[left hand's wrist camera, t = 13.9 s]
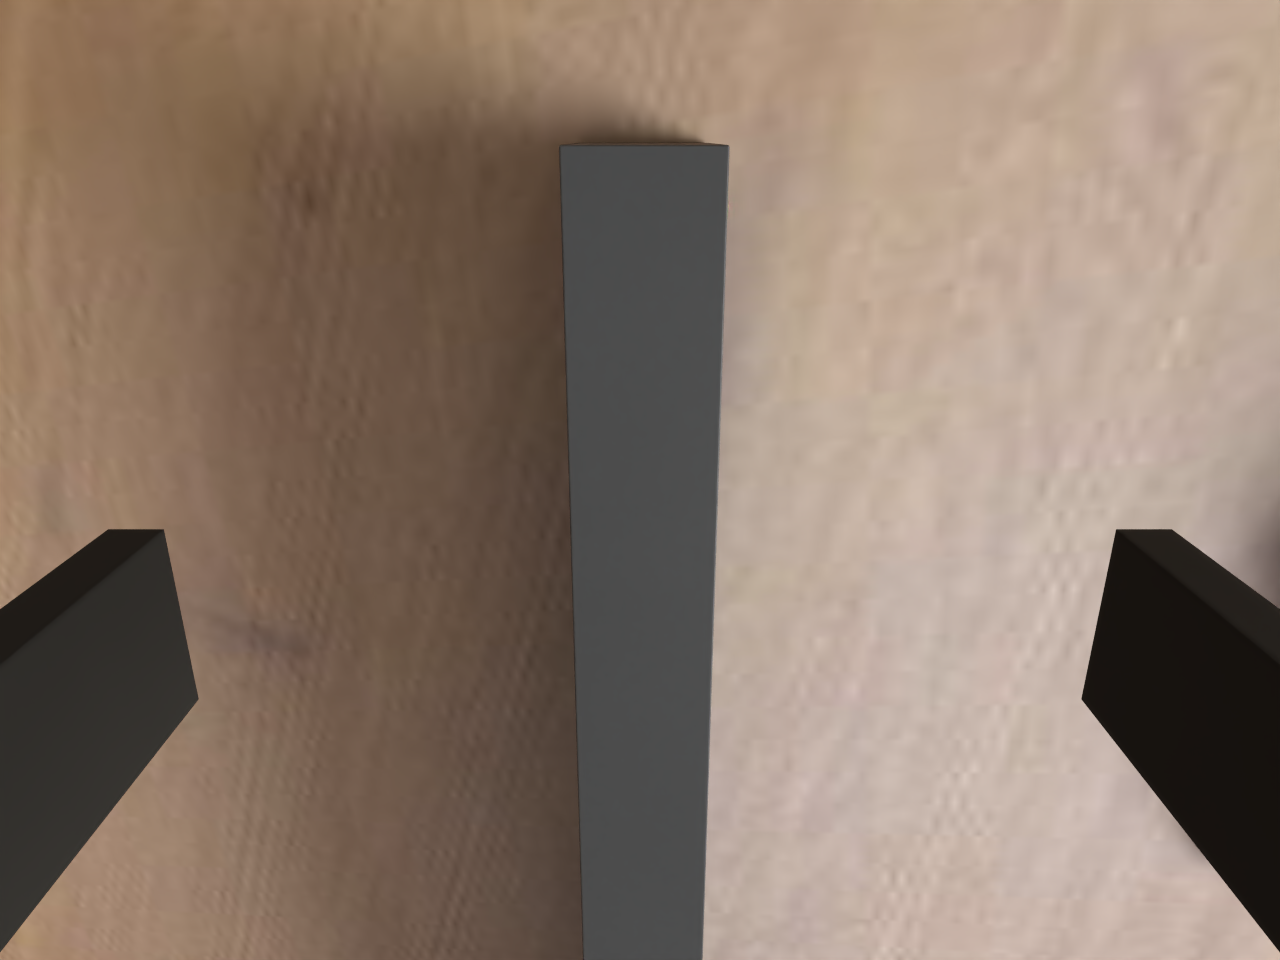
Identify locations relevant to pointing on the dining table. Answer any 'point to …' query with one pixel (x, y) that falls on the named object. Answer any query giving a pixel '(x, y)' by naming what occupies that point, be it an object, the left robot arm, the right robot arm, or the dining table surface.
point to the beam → (643, 527)
